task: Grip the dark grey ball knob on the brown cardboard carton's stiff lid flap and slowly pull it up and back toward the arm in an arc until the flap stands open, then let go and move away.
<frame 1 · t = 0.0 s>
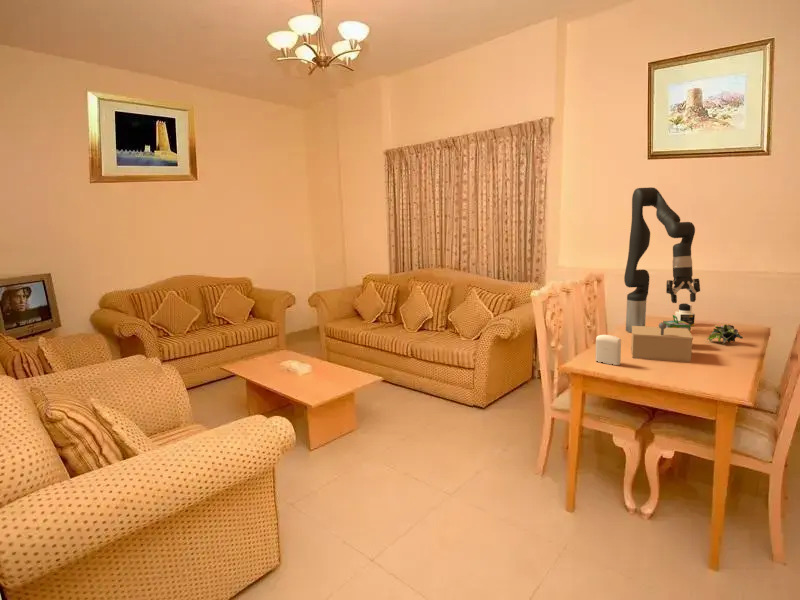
hand: (683, 302, 205), 22 cm above the table, tool pointing down, fingers open, 8 cm apart
green leafy plant: (723, 344, 215), on the table
carton flap: (660, 326, 201), point 13 cm above the table, hinge at 0.0°
chalk box: (675, 346, 215), on the table
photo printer: (607, 363, 196), on the table
medicine bottle: (684, 325, 252), on the table
carton: (659, 354, 204), on the table
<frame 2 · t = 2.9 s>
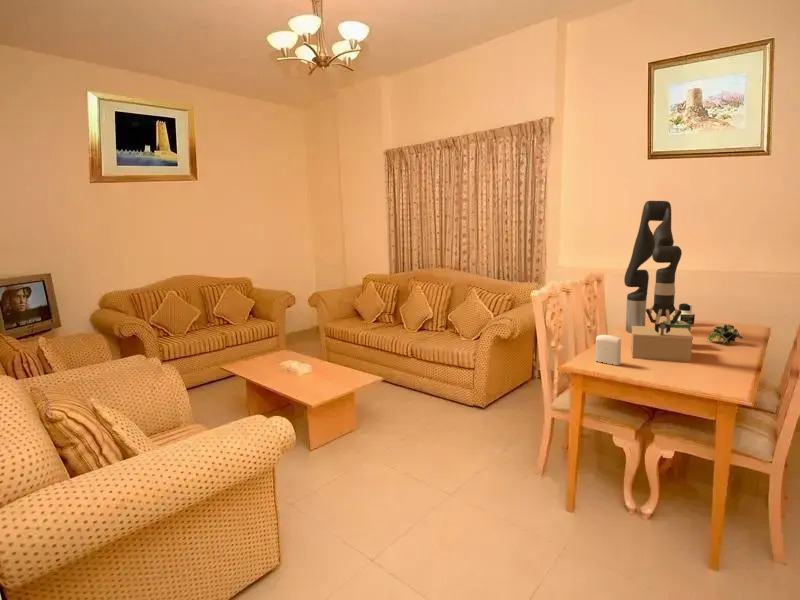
hand: (662, 332, 196), 12 cm above the table, tool pointing down, fingers closed on carton flap, 3 cm apart
carton flap: (660, 326, 201), point 13 cm above the table, hinge at 0.0°, touching gripper
everything else where it was.
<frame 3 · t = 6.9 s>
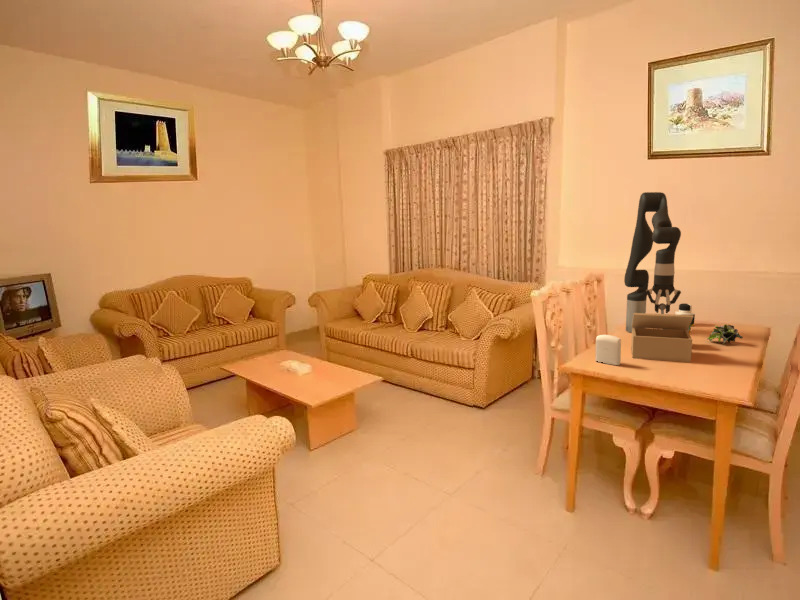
hand: (661, 312, 199), 20 cm above the table, tool pointing down, fingers closed on carton flap, 3 cm apart
carton flap: (660, 315, 203), point 17 cm above the table, hinge at 34.4°, touching gripper
everything else where it was.
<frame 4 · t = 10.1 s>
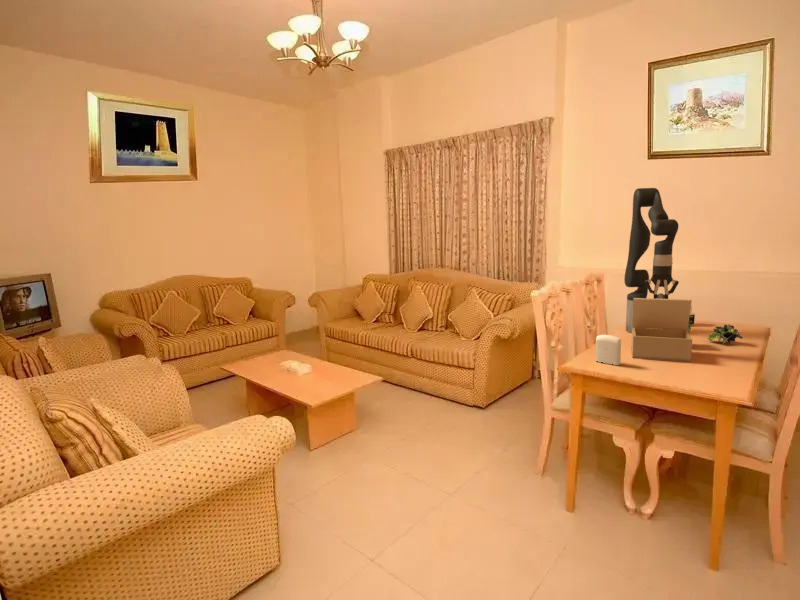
hand: (660, 302, 206), 23 cm above the table, tool pointing down, fingers closed on carton flap, 3 cm apart
carton flap: (659, 310, 207), point 19 cm above the table, hinge at 67.7°, touching gripper
everything else where it was.
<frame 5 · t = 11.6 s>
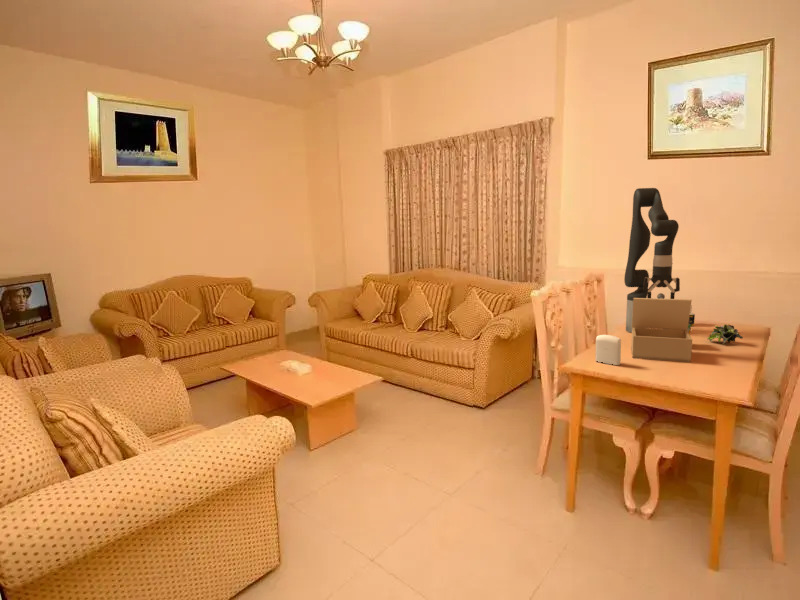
hand: (660, 300, 207), 23 cm above the table, tool pointing down, fingers open, 8 cm apart
carton flap: (659, 310, 207), point 19 cm above the table, hinge at 68.1°
everything else where it was.
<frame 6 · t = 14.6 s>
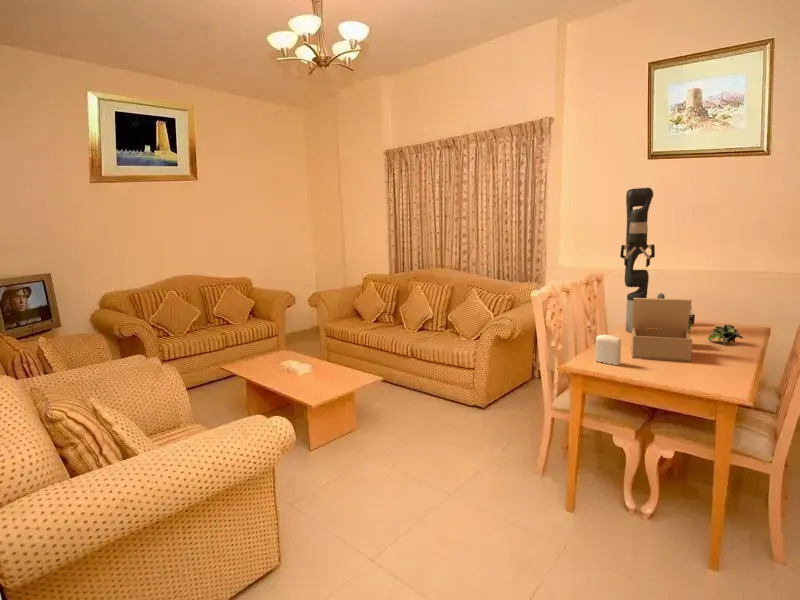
hand: (636, 266, 213), 38 cm above the table, tool pointing down, fingers open, 8 cm apart
nothing on the table moved.
at the end: carton flap at +68° (first picture: +0°); the gripper is holding nothing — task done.
